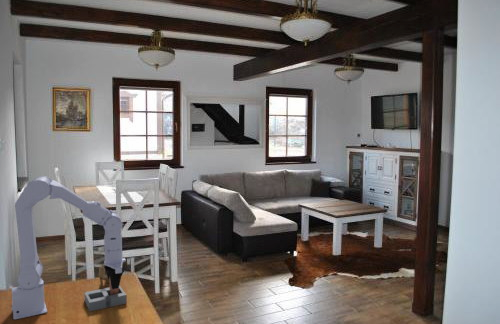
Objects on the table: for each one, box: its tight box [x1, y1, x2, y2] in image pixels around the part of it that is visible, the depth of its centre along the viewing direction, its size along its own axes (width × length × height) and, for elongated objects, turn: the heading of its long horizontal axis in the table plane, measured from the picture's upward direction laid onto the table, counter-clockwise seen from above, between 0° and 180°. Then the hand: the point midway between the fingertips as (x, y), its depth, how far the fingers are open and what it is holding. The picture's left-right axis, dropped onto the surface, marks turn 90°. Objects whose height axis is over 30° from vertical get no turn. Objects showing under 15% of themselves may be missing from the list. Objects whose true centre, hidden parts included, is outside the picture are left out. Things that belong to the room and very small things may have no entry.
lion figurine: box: [97, 263, 110, 287], centre depth 159 cm, size 15×5×9 cm, turn 9°
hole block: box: [83, 284, 128, 312], centre depth 142 cm, size 12×9×3 cm
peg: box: [109, 277, 119, 295], centre depth 143 cm, size 3×3×8 cm
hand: (114, 286), depth 143 cm, fingers closed on peg, 3 cm apart
